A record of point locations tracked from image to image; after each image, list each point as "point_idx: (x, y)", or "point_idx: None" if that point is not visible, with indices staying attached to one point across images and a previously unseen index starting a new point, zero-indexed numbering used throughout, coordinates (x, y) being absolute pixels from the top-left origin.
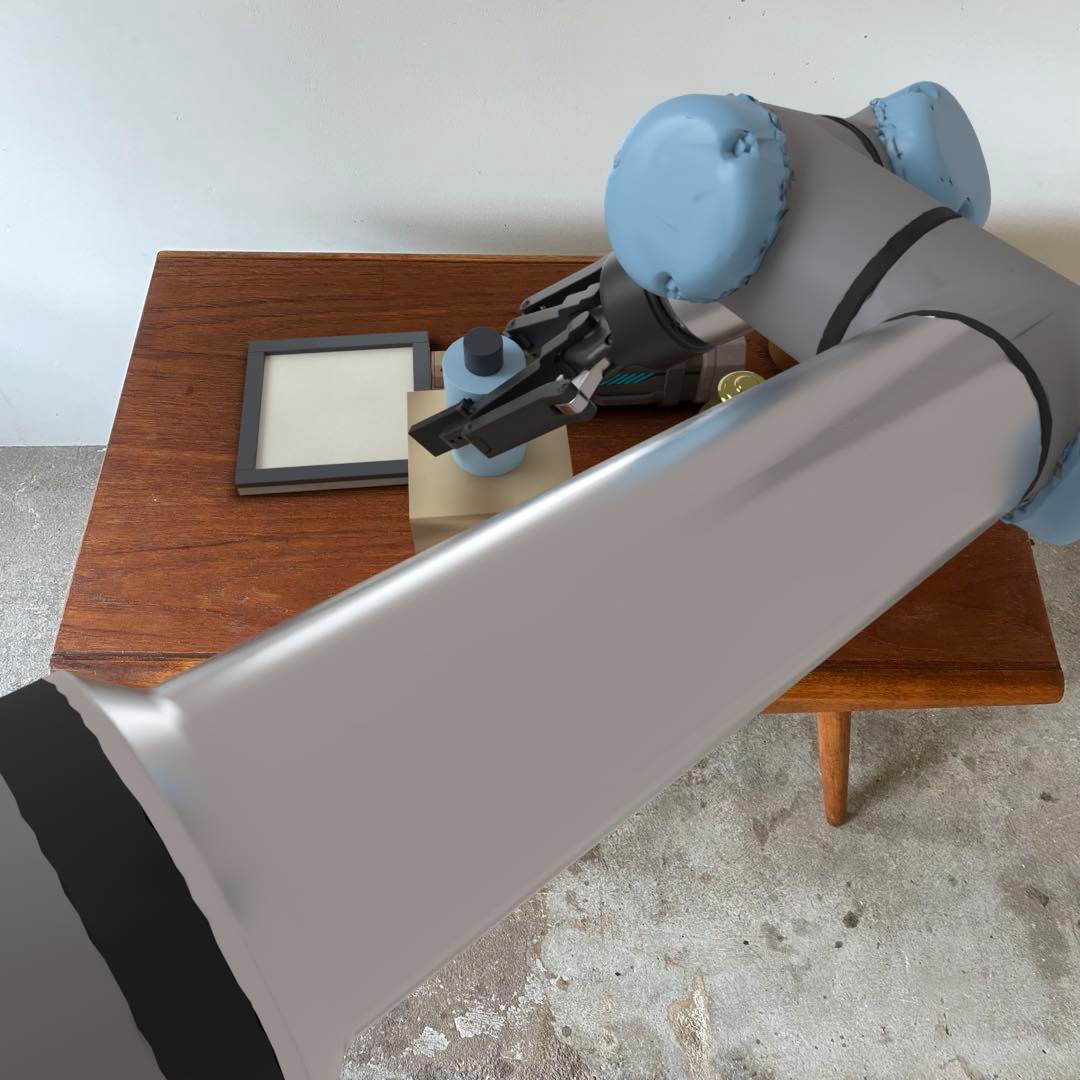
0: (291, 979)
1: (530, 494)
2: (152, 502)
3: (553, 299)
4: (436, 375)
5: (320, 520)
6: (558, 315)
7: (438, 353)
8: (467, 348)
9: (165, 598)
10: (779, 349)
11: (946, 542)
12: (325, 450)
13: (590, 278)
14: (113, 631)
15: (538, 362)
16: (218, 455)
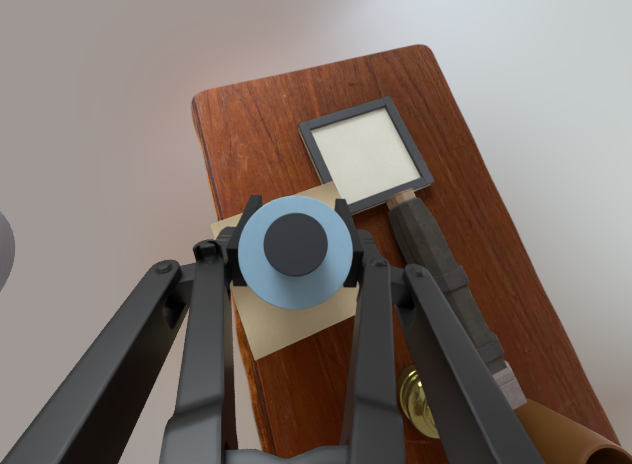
0: None
1: (257, 314)
2: (282, 95)
3: (426, 327)
4: (396, 197)
5: (295, 172)
6: (357, 390)
7: (411, 192)
8: (271, 225)
9: (231, 121)
10: (517, 415)
11: None
12: (335, 158)
13: (487, 457)
14: (209, 107)
15: (205, 394)
16: (318, 112)
